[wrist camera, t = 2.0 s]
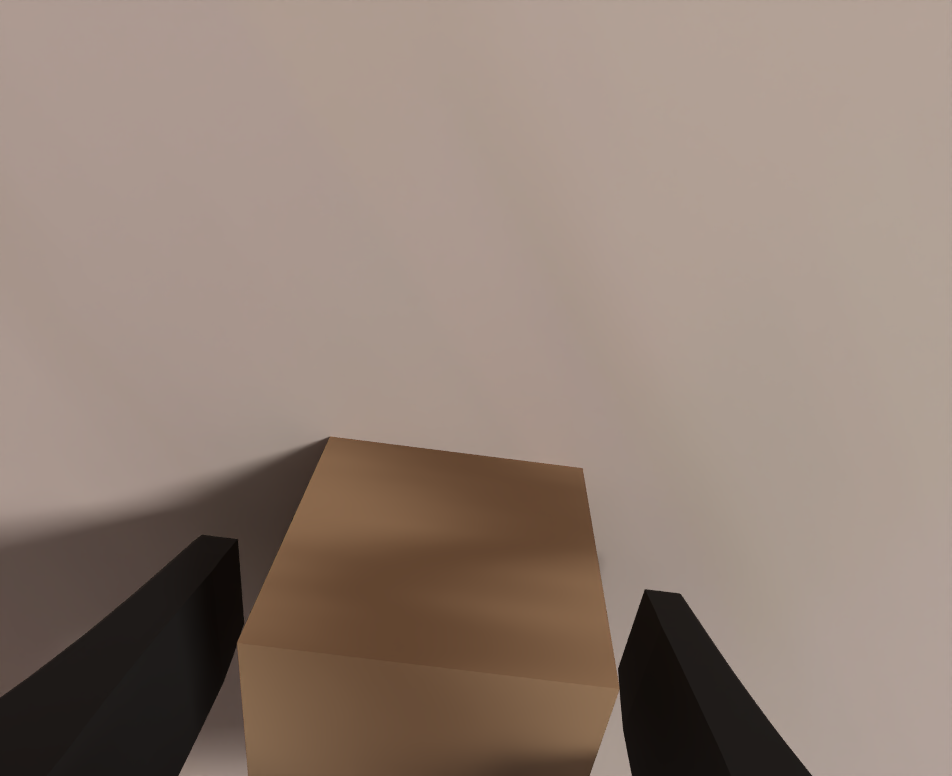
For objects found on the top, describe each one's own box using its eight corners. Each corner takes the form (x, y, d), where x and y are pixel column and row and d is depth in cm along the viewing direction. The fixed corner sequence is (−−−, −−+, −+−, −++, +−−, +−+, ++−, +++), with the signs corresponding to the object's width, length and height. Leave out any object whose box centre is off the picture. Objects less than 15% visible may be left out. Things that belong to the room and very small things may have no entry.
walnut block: (582, 465, 12) (619, 688, 8) (540, 638, 14) (552, 882, 10) (330, 433, 11) (236, 643, 8) (328, 612, 14) (254, 848, 10)
